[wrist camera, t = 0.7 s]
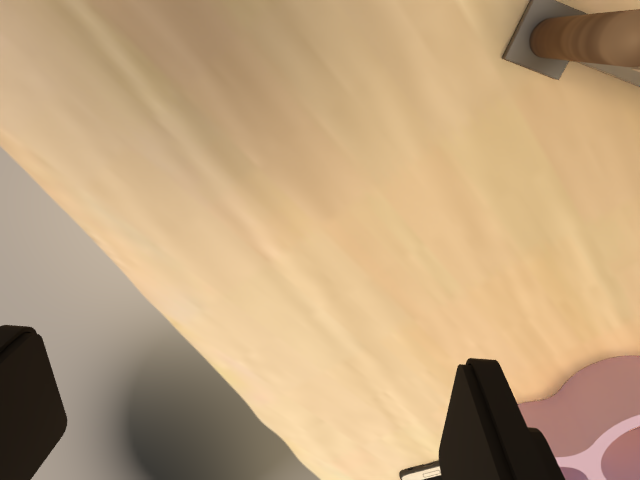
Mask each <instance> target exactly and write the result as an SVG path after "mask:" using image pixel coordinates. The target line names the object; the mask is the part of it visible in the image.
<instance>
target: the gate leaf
mask: <svg viewBox="0 0 640 480" xmlns="http://www.w3.org/2000/svg"><path fill="white" fill-rule="evenodd" d="M579 63H581V64H584V65H586V66H589V67H591V68H594V69H596V70H599V71H601V72H604V73H606V74H609V75H611V76H614V77H616V78H619V79H621V80H624V81H626V82H629V83H631V84H634V85H636V86H639V87H640V66H639V67H622V66H613V65H603V64H594V63H585V62H579Z"/></svg>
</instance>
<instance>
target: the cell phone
mask: <svg viewBox="0 0 640 480" xmlns="http://www.w3.org/2000/svg"><path fill="white" fill-rule="evenodd" d="M411 468H413V469H412V470H408V469H411ZM411 468H408V469H404V470H402V471H401V472H400V479H401V480H442V476H441V471H440V466H439V460H438V461H435V462H434V463H433V464H429V465H425V466H424V465H419V466H415V467H411Z"/></svg>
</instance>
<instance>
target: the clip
mask: <svg viewBox="0 0 640 480" xmlns="http://www.w3.org/2000/svg"><path fill="white" fill-rule="evenodd" d="M518 407H519V409H520V411H521V414H522V416H523V418H524V420H525V422H526V425H527V427H531V428H537V429H539V430H540V431H541V432H542V433H543V435H544V437H545V438H546V440H547V442H548V444H549V446H550V448H551V450H552V453H553V455H554V457H555V459H556V461H557V463H558V465H559V467H560V469H561V471H562V473H563V475H564V478H565V480H640V427H639V426H640V356H619V357H613V358H608V359H605V360H601V361H598V362H596V363H593V364H591V365H589V366H587V367H585V368H583V369H582V370H580V371H578V372H577V373H576V374H574V375H573V376H572V377H571V378H570V379H569V380H568V381H567V382H566V383H565V384H564V385H563V386H562V388H561V389H560V390H559V391H558V392H557V393H556V394H555V395H553V396H552V397H550V398H547V399H545V400H541V401H532V402H526V403H522V404H518ZM636 427H638V428H636ZM634 428H636V429H634ZM631 429H633V430H631ZM629 430H631V431H629Z"/></svg>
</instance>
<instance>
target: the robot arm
mask: <svg viewBox="0 0 640 480" xmlns="http://www.w3.org/2000/svg"><path fill="white" fill-rule="evenodd" d="M66 426H67V416H66V413H65V410H64V407H63V404H62V400H61V397H60V394H59V391H58V387H57V384H56V381H55V378H54V375H53V371H52V368H51V365H50V362H49V358H48V355H47V352H46V349H45V346H44V342H43V339H42V337H41V336H40V335H39V334H37V333H36V331H35V330H34V329H33V328H32V327H26V326H12V325H11V326H10V325H3V326H0V480H30V479H31V478H32V477H33V476H34V474H35V473H36V472H37V470H38V469H39V467H40V466H41V465H42V463H43V462H44V460H45V459H46V458H47V456H48V455H49V454H50V452H51V451H52V449H53V448H54V447H55V445H56V444H57V443H58V441H59V440H60V438H61V437H62V436H63V433H64V432H65V430H66ZM439 466H440V471H441V476H442V480H565V478H564V475H563V473H562V471H561V469H560V467H559V465H558V463H557V461H556V459H555V457H554V455H553V453H552V450H551V448H550V446H549V444H548V442H547V440H546V438H545V437H544V435H543V433H542V432H541V431H540V430H539V429H537V428H531V427H527V425H526V422H525V420H524V418H523V416H522V414H521V411H520V409H519V407H518V405H517V402H516V400H515V398H514V396H513V393H512V391H511V389H510V387H509V384H508V382H507V380H506V378H505V376H504V373H503V371H502V369H501V367H500V365H499V363H498V362H497V361H496V360H487V359H473V358H469V359H468V360H467V362H466V365H461V364H460V365H459V366H458V368H457V372H456V376H455V381H454V385H453V390H452V394H451V399H450V403H449V407H448V412H447V416H446V421H445V425H444V430H443V434H442V439H441V443H440V448H439Z"/></svg>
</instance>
